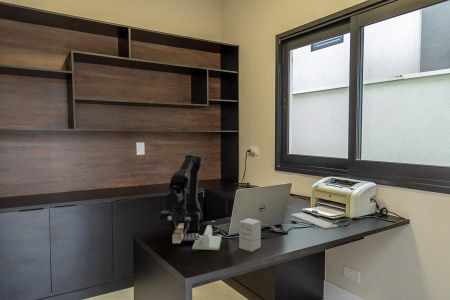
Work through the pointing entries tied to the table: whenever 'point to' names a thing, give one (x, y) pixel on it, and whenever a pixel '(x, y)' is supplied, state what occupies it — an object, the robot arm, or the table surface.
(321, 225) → the grey flat block
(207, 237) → the ridge stand
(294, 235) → the table surface
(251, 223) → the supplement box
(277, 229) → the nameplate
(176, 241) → the maple bar
